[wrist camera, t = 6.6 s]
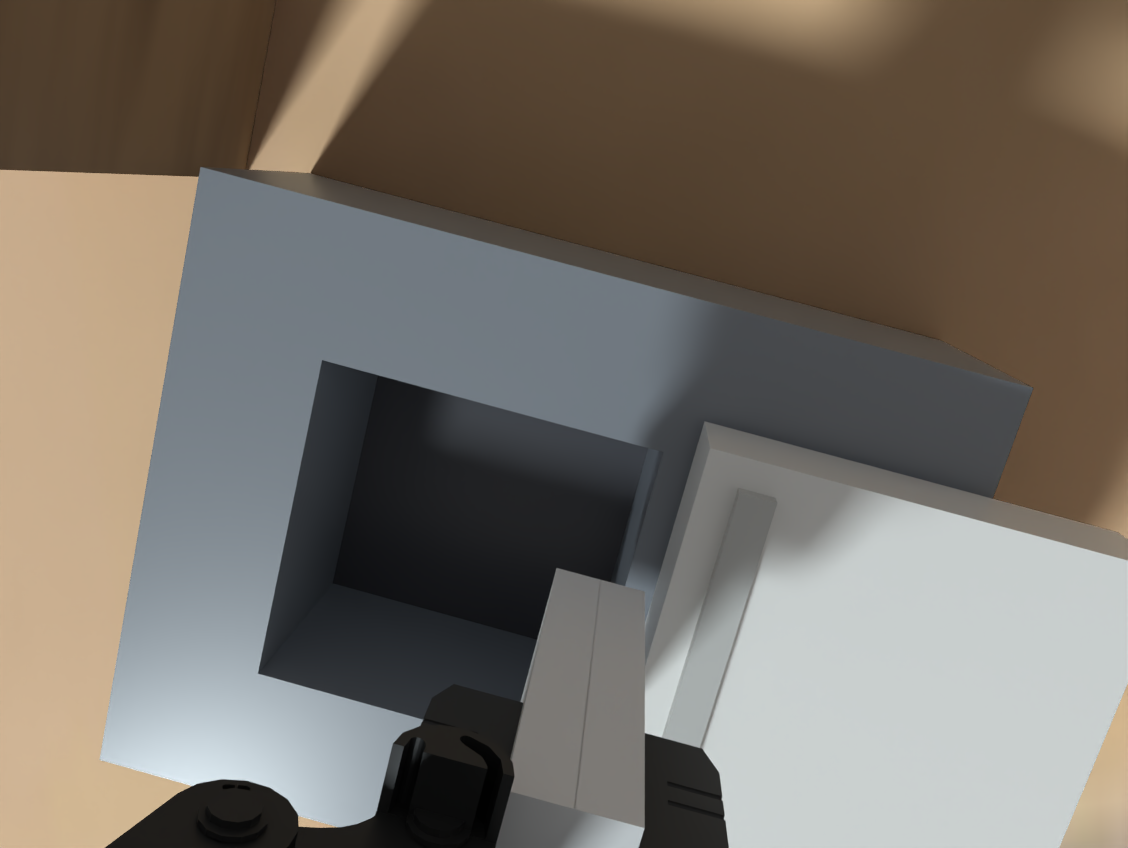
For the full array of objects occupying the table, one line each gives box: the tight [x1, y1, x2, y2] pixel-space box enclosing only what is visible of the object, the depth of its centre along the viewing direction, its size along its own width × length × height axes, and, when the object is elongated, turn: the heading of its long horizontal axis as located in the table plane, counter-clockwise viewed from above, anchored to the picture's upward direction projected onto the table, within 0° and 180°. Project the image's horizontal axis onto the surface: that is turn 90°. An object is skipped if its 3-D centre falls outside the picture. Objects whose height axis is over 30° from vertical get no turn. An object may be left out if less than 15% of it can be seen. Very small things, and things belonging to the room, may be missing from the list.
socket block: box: [100, 167, 1033, 827], centre depth 23 cm, size 15×12×6 cm
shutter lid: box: [645, 421, 1128, 848], centre depth 18 cm, size 7×8×2 cm
